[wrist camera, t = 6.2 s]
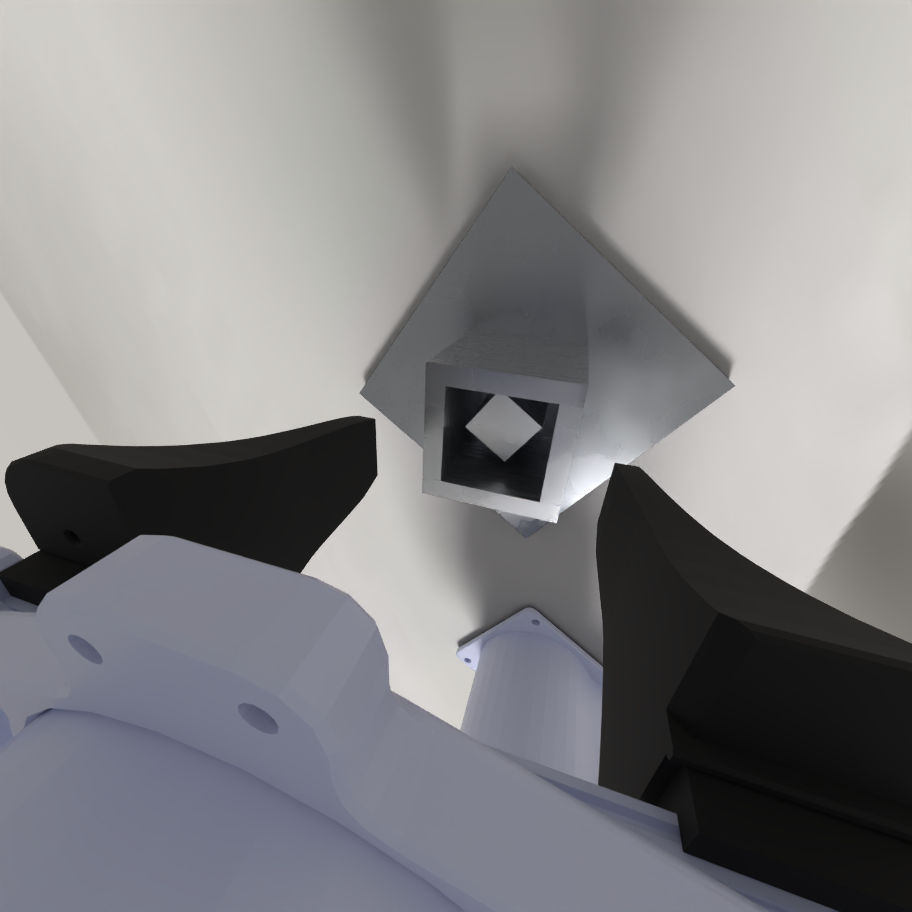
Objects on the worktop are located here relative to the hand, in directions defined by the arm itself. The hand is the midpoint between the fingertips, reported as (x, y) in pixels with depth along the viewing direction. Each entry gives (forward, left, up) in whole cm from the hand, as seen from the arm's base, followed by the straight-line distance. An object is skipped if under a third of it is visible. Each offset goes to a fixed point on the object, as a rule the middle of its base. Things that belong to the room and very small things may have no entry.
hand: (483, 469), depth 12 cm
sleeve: (0, 0, -8) cm, 8 cm away
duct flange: (0, 0, -8) cm, 8 cm away
